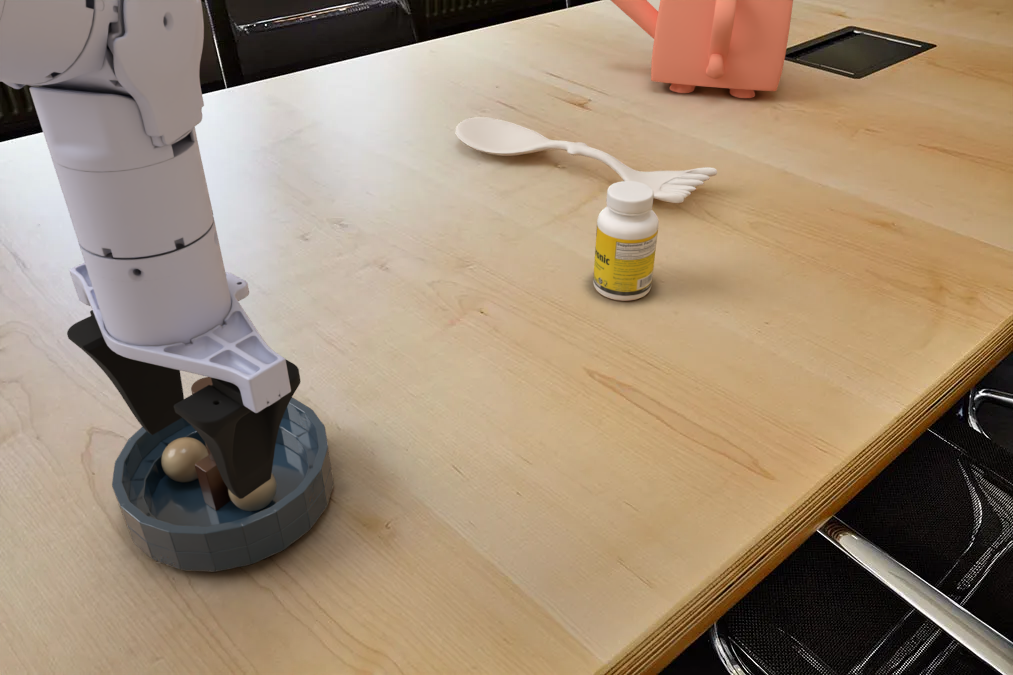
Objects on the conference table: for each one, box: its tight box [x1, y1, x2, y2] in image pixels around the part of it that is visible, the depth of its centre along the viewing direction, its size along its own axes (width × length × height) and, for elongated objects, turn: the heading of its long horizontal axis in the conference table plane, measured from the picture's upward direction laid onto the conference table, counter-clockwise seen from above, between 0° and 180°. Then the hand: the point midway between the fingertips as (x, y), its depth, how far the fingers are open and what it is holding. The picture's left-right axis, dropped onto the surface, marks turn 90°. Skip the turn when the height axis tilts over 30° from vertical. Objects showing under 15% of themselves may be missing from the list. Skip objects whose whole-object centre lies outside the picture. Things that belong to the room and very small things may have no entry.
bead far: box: [161, 437, 208, 482], centre depth 57 cm, size 3×3×3 cm
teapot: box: [610, 0, 794, 99], centre depth 121 cm, size 25×23×18 cm
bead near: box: [228, 474, 277, 511], centre depth 55 cm, size 3×3×3 cm
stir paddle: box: [190, 376, 231, 511], centre depth 54 cm, size 4×2×9 cm, turn 143°
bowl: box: [111, 396, 334, 572], centre depth 56 cm, size 13×13×4 cm
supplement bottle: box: [592, 180, 659, 302], centre depth 76 cm, size 5×5×10 cm
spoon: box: [454, 116, 718, 204], centre depth 99 cm, size 9×32×4 cm, turn 54°
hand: (206, 453), depth 46 cm, fingers open, 7 cm apart
